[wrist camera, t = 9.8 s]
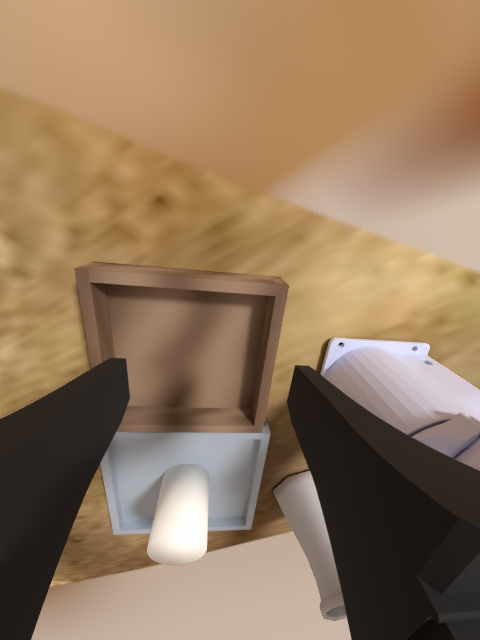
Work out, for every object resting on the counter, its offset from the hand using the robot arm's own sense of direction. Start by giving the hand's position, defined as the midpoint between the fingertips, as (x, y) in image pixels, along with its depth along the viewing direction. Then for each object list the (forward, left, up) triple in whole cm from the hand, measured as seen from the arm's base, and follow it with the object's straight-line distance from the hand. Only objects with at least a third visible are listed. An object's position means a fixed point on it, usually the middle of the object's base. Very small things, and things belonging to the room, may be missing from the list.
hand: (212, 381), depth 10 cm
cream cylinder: (+2, +20, -9) cm, 22 cm away
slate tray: (+2, +20, -9) cm, 22 cm away
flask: (-12, +23, -10) cm, 28 cm away
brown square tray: (+2, +4, -9) cm, 10 cm away
